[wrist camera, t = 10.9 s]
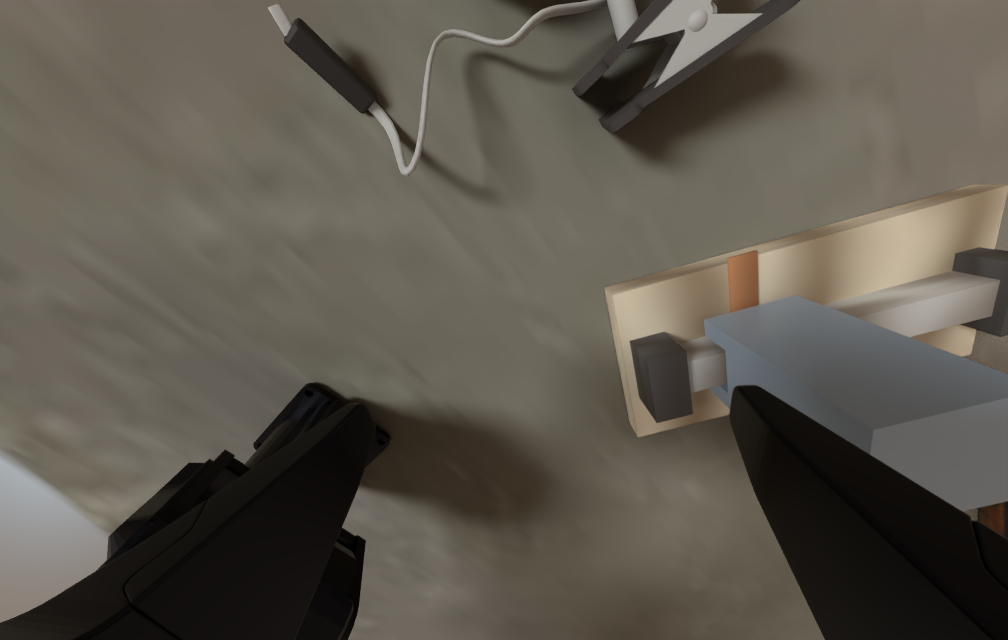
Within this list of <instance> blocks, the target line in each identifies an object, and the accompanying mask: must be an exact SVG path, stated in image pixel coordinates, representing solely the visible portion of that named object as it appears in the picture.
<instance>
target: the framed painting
mask: <svg viewBox="0 0 1008 640" xmlns="http://www.w3.org/2000/svg"><path fill="white" fill-rule="evenodd" d="M978 521H979V522H981V523H982V524H984V525H986V526H987V527H989V528H991V529H992V530H994V531H995V532H997V533H999V534H1000V535H1002V536H1004V537H1005V538H1007V539H1008V501H1007V502H1002V503H998V504H993V505H989V506H984V507H980V508H978Z"/></svg>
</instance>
